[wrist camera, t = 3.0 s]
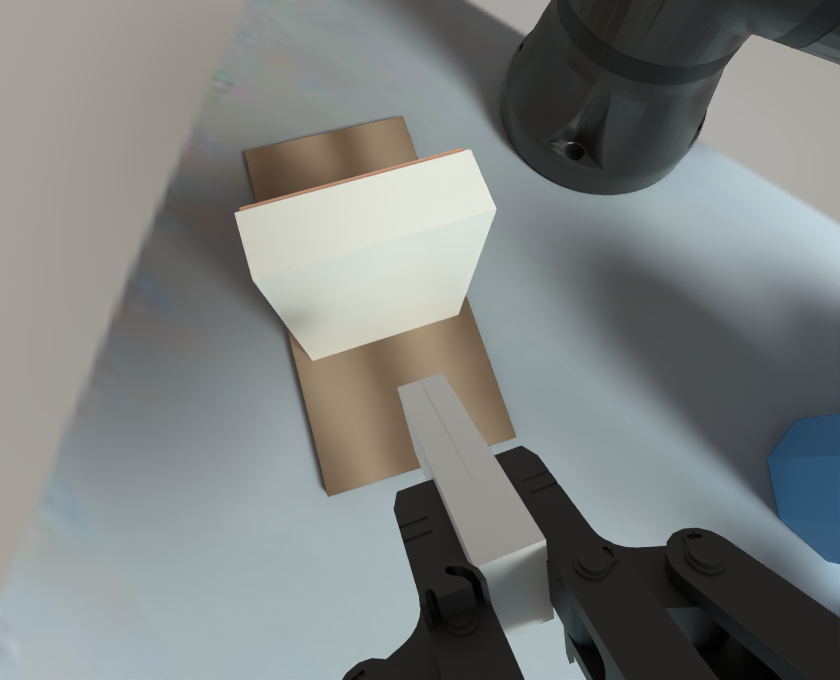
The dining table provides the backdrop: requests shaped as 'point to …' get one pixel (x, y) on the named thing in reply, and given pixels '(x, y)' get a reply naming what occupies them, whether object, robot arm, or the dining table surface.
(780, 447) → the water bottle
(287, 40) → the dining table surface
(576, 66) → the robot arm
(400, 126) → the walnut board
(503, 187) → the dining table surface
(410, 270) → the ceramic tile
